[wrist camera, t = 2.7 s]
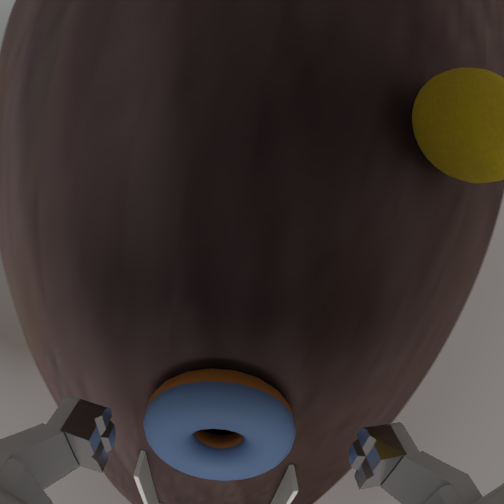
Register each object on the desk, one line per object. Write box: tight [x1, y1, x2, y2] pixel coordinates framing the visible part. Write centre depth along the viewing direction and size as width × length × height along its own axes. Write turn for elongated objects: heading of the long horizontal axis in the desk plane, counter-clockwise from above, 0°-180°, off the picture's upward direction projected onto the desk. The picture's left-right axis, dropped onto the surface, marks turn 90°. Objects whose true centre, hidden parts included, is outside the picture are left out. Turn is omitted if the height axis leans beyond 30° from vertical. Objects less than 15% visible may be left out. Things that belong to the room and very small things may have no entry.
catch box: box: [134, 450, 298, 504], centre depth 20 cm, size 13×13×3 cm
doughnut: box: [143, 368, 296, 481], centre depth 16 cm, size 10×10×5 cm
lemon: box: [412, 67, 504, 183], centre depth 10 cm, size 6×6×8 cm
